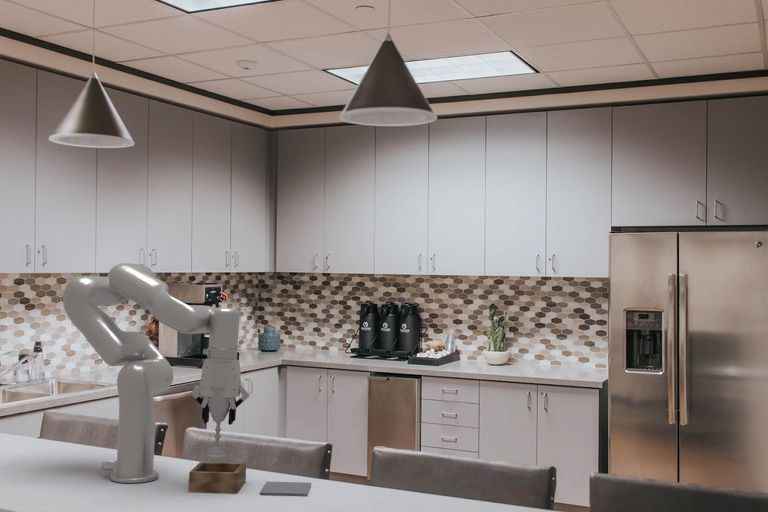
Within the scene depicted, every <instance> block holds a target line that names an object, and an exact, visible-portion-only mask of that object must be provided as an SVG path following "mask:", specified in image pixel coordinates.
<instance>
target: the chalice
mask: <svg viewBox="0 0 768 512" xmlns="http://www.w3.org/2000/svg"><path fill="white" fill-rule="evenodd" d="M225 389H226V388H211V390H212V391H213V397H212V398H209V401H208V406H209V410H210V411H209V414H210V416H211V418H212V420H213V422H215V423H216V425H215V426H216V428H214V431H215V436H213V437H214V438H215V443H214V445H212V446H211V447H210V448H209V450H208V452H207V454H206V457H208V458H214V459H215V458H224V457H225V458H226V457H227V455H226V452H225V447H223V445H221V444H220V438H221V437H222V436H221V434H220V433H221V430H222V428H221V423H222V422H224V421H225V419H226V417H227V416H228V415H229V410H230V407H231V405H230V402H229V399H224V398H223V392H224V390H225Z"/></svg>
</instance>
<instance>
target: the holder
mask: <svg viewBox="0 0 768 512" xmlns="http://www.w3.org/2000/svg"><path fill="white" fill-rule="evenodd" d="M246 476H247V463H246V462H219V461H218V462H217V461H216V462H213V461H211V462H210V461H208V462H207V461H200V462H199V463H198V464H196V466H195V467H193V468H192V469H191V470H190V471H189V472H188V493H202V494H203V493H204V494H208V493H209V494H235V495H236V494H238V493H239V492H240V491H241V489H242V488H243V487H244V485H245V484H246V481H247V479H246V478H247V477H246ZM244 483H245V484H244ZM241 487H242V488H241Z"/></svg>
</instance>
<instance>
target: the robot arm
mask: <svg viewBox="0 0 768 512" xmlns="http://www.w3.org/2000/svg"><path fill="white" fill-rule="evenodd" d="M169 291H170V289H169V285H168V284H167V282H165V281H163V280H161V279H159V278H157V277H155V273H154V272H153V271H152V269H151V268H150V267H148V266H147V265H144V264H140V263H139V264H138V263H129V262H127V263H126V262H124V263H123V262H122V263H118V264H116V265H114V266H113V267H112V268H111V269H110V270H109V272H108V274H107V276H100V275H79V276H77V277H74V278H72V279H70V281H69V282H68V283H67V284H66V285H65V288H64V290H63V295H62V302H63V308H64V311H65V314H66V315H67V317H68V319H69V320H70V321H71V323H72V324H73V325H74V326H75V327H76V329H78V331H79V332H80V333H81V334H82V335H83V337H84V338H85V339H86V341H87V342H88V343H89V345H90V346H91V347H92V348H93V350H94V351H95V352H96V353H97V355H98V356H99V357H100V358H101V360H102V361H103V362H104V363H105V364H107V365H108V366H110V367H121V369H120V370H119V372H118V374H117V378H116V385H117V393H118V405H119V407H118V431H117V432H118V435H117V452H116V453H117V456H116V460H114V461H113V462H110V461H103V462H101V465H100V466H101V470H103V471H111V472H112V473H110V474H109V475H110V476H109V479H110V480H111V481H113V482H116V483H121V484H122V483H123V484H136V483H137V484H140V483H147V482H152V481H155V480H158V478H159V476H160V472H159V471H157V470H154V463H155V462H154V460H155V443H156V442H155V441H156V440H155V439H156V438H155V437H156V436H155V435H156V419H157V418H156V413H157V411H156V403H155V400H154V396H153V394H159V393H161V392H164V391H166V390H167V389H169V388H170V387H171V385H172V384H173V381H174V377H175V376H174V370H173V367H172V366H171V364H170V362H169V361H168V360H167V359H166V357H165V356H164V355H163V354H162V352H161V351H160V350H159V349H158V348H157V346H156V345H155V344H154V342H152V340H151V339H150V338H149V337H148V336H147V335H145V334H143V333H142V332H139V331H131V330H129V331H125V330H123V329H121V328H120V327H119V326H118V325H117V324H116V323H115V322H114V320H113V319H112V318H111V316H109V315H108V314H107V313H106V312H105V311H103V310H102V309H101V308H99V307H109V306H115V305H118V304H120V303H123V302H126V301H129V300H131V301H132V302H134V303H136V304H138V305H139V306H142V307H143V308H145V309H147V310H148V311H149V313H150V314H151V315H152V316H153V317H154V319H156V320H157V321H158V322H159V323H161V324H163V325H164V326H167V327H169V328H170V329H172V330H174V331H176V332H178V333H181V334H183V335H194V334H195V335H196V334H199V335H200V334H209V336H208V337H209V338H208V347H207V348H203V349H202V355H206V356H207V358H204V360H203V365H202V368H201V370H202V371H201V374H200V375H201V377H200V381H199V382H200V383H199V384H198V385H197V386H196V387H195V388H193V390H192V391H191V392H190V395H191V396H192V397H193V398H194V399H195V400H196V402H197V403H198V404H199V406H200V407H201V408H202V411H201V420H203V424H208V423H209V421H210V410H209V406H208V401H209V398H212V397H213V391H212V390H211V388H226V389H225V390H224V392H223V398H224V399H229V402H230V405H231V406H230V409H229V412H228V421H227V424H228V425H230V426H231V425H232V424H233V423H234V422H235V421H236V419H237V418H236V413H237V408H238V407H240V405H241V404H243V403H244V401H246V400H247V399H248V398H250V394H249V392H248V391H247V390H246V389H245V388H244V387H243V385H242V383H241V381H242V380H241V365H240V360H239V359H238V346H239V330H240V329H239V328H240V317H241V315H240V311H239V310H238V309H237V308H233V307H215V306H210V305H195V304H194V305H193V304H192V305H189V304H187V303H184V302H183V301H181V300H179V299H177V298H176V297H174V296H172V295H171V294H169ZM240 395H241V397H240V398H239V399H237V397H239V396H240Z"/></svg>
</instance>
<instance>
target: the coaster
mask: <svg viewBox="0 0 768 512" xmlns="http://www.w3.org/2000/svg"><path fill="white" fill-rule="evenodd" d="M310 486H311V487H312V482H305V481H304V482H303V481H302V482H299V481H266V482H265V483H264V485H263V487H262V488H261V490H260V491H259V496H283V497H284V496H287V497H292V496H293V497H308V494H309V492H310V489H311V487H310Z"/></svg>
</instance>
